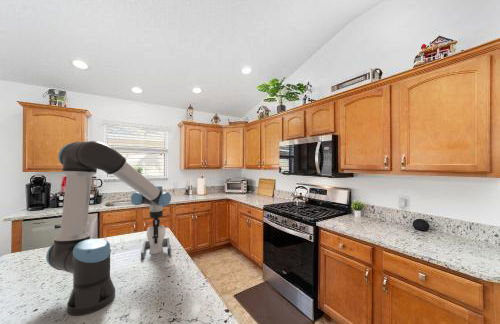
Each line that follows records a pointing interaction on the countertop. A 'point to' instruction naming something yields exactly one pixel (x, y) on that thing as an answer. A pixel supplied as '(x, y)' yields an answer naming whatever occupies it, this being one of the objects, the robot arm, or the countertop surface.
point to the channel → (147, 244)
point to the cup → (160, 238)
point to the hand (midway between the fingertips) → (156, 244)
